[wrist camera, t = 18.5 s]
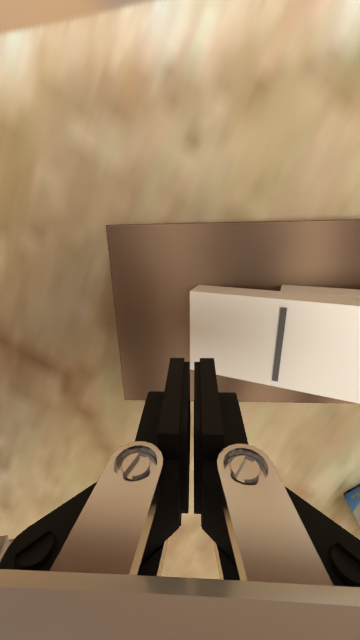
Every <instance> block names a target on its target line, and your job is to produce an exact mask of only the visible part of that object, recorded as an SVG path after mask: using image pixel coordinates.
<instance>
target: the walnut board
mask: <svg viewBox="0 0 360 640" xmlns="http://www.w3.org/2000/svg"><path fill="white" fill-rule="evenodd" d="M106 231H107V240H108V249H109V259H110V268H111V277H112V286H113V295H114V305H115V314H116V323H117V332H118V341H119V351H120V360H121V369H122V378H123V387H124V397H125V400H146V398H147V395H148V392H149V391H165V385H166V379H167V374H168V368H169V362H170V358H184V359H185V362H190V290H192V289H193V288H195V287H196V286H198V285H209V286H221V287H234V288H247V289H259V290H272V291H280V290H281V286H282V285H297V286H313V287H328V288H344V289H359V290H360V220H323V221H275V222H227V223H179V224H131V225H106ZM216 378H217V385H218V392H235V393H236V395H237V399H238V402H293V403H354V402H349V401H344V400H339V399H334V398H329V397H324V396H319V395H314V394H309V393H304V392H300V391H295V390H290V389H285V388H280V387H275V386H270V385H265V384H260V383H255V382H250V381H245V380H240V379H235V378H230V377H226V376H221V375H216ZM190 401H194V370H191V369H190Z"/></svg>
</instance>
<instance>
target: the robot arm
mask: <svg viewBox="0 0 360 640" xmlns="http://www.w3.org/2000/svg"><path fill="white" fill-rule="evenodd" d="M189 464H190V362H185V359H184V358H170V362H169V368H168V374H167V379H166V385H165V391H149V392H148V395H147V398H146V402H145V406H144V410H143V413H142V417H141V421H140V424H139V428H138V432H137V436H136V439H135V442H131V443H128V444H126V445H124V446H121V447H120V448H119V449H118V450H116V451H115V452H114V454H113V455H112V456H111V458H110V459H109V461H108V463H107V465H106V467H105V469H104V471H103V472H102V474H101V476H100V478H99V480H98V481H97V482H96V483H94V484H93V485H91V486H90V487H88V488H87V489H85V490H84V491H82V492H81V493H79V494H78V495H76V496H75V497H73V498H72V499H70V500H69V501H67V502H66V503H64V504H63V505H61V506H60V507H58V508H57V509H55V510H54V511H52V512H51V513H49V514H48V515H46V516H44V517H43V518H41V519H40V520H38V521H37V522H35V523H34V524H32V525H31V526H29V527H28V528H27V529H25V530H24V531H23V532H22V533H20V534H19V535H18V536H17V537H16V538H15V539H10V540H9V539H8V536H7V535H5V536H0V640H360V540H359V539H357V538H356V537H355V536H353V535H352V534H350V533H349V532H348V531H346V530H345V529H343V528H342V527H341V526H339V525H338V524H336V523H335V522H334V521H332V520H331V519H329V518H328V517H327V516H325V515H324V514H322V513H321V512H320V511H318V510H317V509H315V508H314V507H313V506H311V505H310V504H309V503H307V502H306V501H304V500H303V499H302V498H300V497H299V496H297V495H296V494H295V493H293V492H292V491H290V490H289V489H288V488H286V487H285V486H284V485H283V483H282V481H281V479H280V477H279V475H278V473H277V471H276V469H275V467H274V465H273V463H272V461H271V460H270V458H269V457H268V455H266V454H265V453H264V452H263V451H262V450H260V449H258V448H256V447H254V446H251V445H248V441H247V437H246V433H245V429H244V424H243V420H242V416H241V411H240V407H239V403H238V399H237V395H236V393H235V392H218V385H217V378H216V370H215V363H214V358H200V362H194V514H201V527H202V529H203V530H204V531H205V532H206V533H207V534H208V535H209V536H210V537H211V538H212V540H213V541H214V547H215V554H216V560H217V565H218V570H219V575H220V580H219V579H200V578H180V577H161V573H162V568H163V564H164V559H165V555H166V550H167V542H168V538H169V537H170V536H171V535H172V534H173V533H174V532H175V531H176V530H177V529H178V528H179V526H181V513H188V507H189Z"/></svg>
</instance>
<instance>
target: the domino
mask: <svg viewBox="0 0 360 640" xmlns="http://www.w3.org/2000/svg"><path fill="white" fill-rule="evenodd" d="M200 358H214V363H215V370H216V375H221V376H226V377H230V378H235V379H240V380H245V381H250V382H255V383H260V384H265V385H270V386H275V387H280V388H285V389H290V390H295V391H300V392H304V393H309V394H314V395H319V396H324V397H329V398H334V399H339V400H344V401H349V402H354V403H359V404H360V297H347V296H334V295H322V294H309V293H297V292H284V291H272V290H259V289H247V288H234V287H221V286H209V285H198V286H196V287H195V288H193V289H192V290H190V369H191V370H194V362H200Z"/></svg>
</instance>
